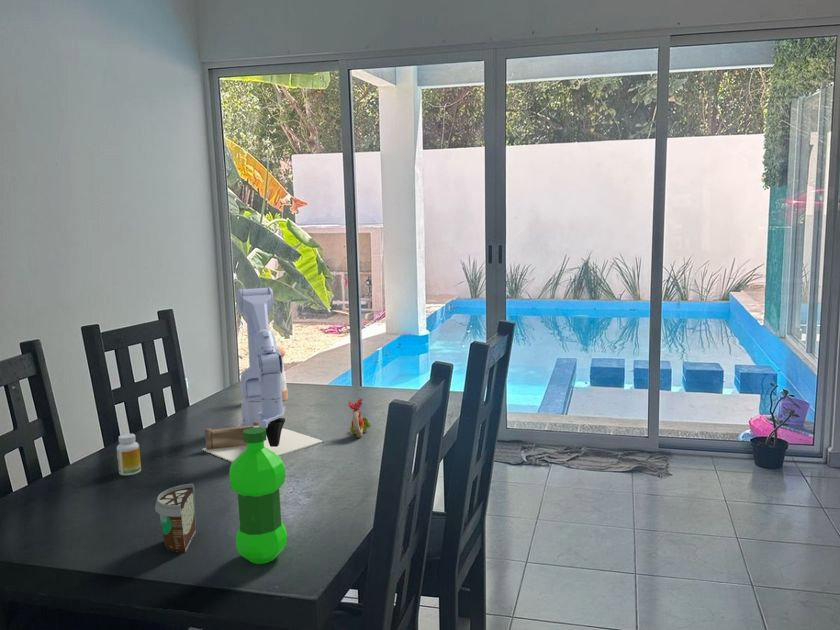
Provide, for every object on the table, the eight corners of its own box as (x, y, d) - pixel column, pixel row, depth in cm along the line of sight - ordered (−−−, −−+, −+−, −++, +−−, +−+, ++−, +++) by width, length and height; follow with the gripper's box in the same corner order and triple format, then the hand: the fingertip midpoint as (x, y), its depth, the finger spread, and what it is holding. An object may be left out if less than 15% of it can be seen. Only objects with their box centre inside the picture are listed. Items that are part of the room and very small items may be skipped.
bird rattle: (370, 444, 210) (371, 423, 218) (368, 414, 204) (368, 394, 212) (348, 445, 210) (350, 424, 218) (346, 415, 204) (347, 395, 212)
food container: (167, 530, 152) (163, 484, 150) (197, 528, 152) (193, 482, 151) (150, 558, 140) (146, 508, 138) (183, 555, 140) (179, 506, 139)
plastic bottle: (224, 566, 136) (214, 436, 132) (256, 541, 145) (247, 420, 142) (270, 574, 132) (261, 441, 128) (299, 548, 142) (292, 424, 138)
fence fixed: (206, 447, 203) (204, 427, 203) (261, 441, 207) (260, 421, 207) (206, 450, 202) (204, 429, 201) (262, 443, 206) (260, 423, 205)
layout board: (202, 450, 203) (202, 448, 203) (280, 428, 221) (280, 426, 221) (243, 467, 188) (243, 465, 188) (323, 442, 206) (323, 440, 206)
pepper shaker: (263, 401, 253) (260, 347, 250) (271, 396, 260) (268, 343, 257) (283, 401, 252) (280, 347, 249) (291, 396, 259) (288, 343, 256)
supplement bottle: (146, 470, 188) (142, 433, 187) (129, 477, 184) (126, 439, 182) (130, 467, 191) (127, 431, 189) (114, 474, 186) (110, 437, 184)
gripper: (267, 390, 204) (270, 437, 206) (246, 404, 190) (250, 454, 192) (291, 390, 203) (294, 437, 205) (272, 404, 189) (275, 455, 191)
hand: (274, 445), depth 199 cm, fingers closed
